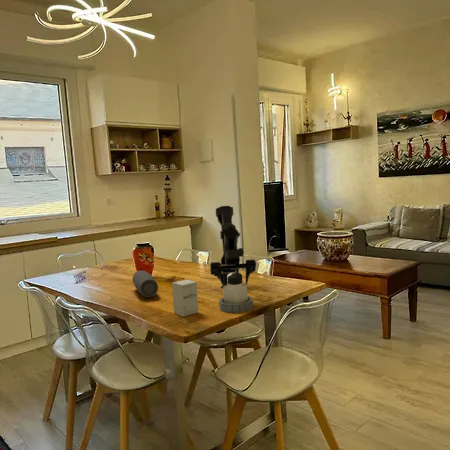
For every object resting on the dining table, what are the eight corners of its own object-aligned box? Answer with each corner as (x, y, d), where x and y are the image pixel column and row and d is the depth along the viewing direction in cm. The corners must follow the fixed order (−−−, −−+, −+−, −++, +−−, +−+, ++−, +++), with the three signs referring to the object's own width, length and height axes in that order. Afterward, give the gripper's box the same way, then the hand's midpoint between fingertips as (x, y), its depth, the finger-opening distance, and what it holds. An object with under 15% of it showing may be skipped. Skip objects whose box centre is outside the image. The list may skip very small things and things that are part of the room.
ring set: (84, 288, 232) (75, 268, 231) (73, 291, 240) (64, 273, 238) (118, 269, 252) (110, 251, 251) (107, 273, 259) (99, 255, 258)
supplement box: (183, 317, 167) (180, 285, 166) (173, 312, 173) (171, 282, 172) (199, 312, 171) (197, 281, 170) (189, 308, 177) (187, 278, 176)
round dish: (213, 311, 172) (213, 303, 171) (227, 301, 184) (227, 294, 184) (245, 314, 166) (245, 305, 166) (257, 303, 178) (257, 296, 178)
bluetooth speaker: (132, 290, 214) (130, 270, 213) (150, 287, 217) (149, 268, 216) (139, 301, 193) (137, 279, 192) (160, 298, 196) (158, 276, 195)
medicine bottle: (248, 300, 176) (247, 273, 172) (237, 307, 171) (236, 279, 167) (234, 296, 180) (233, 269, 177) (223, 302, 175) (222, 275, 171)
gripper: (208, 243, 175) (211, 276, 166) (254, 240, 177) (259, 272, 167) (209, 258, 184) (212, 290, 175) (252, 255, 185) (257, 287, 176)
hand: (235, 284), depth 173 cm, fingers closed on medicine bottle, 9 cm apart
